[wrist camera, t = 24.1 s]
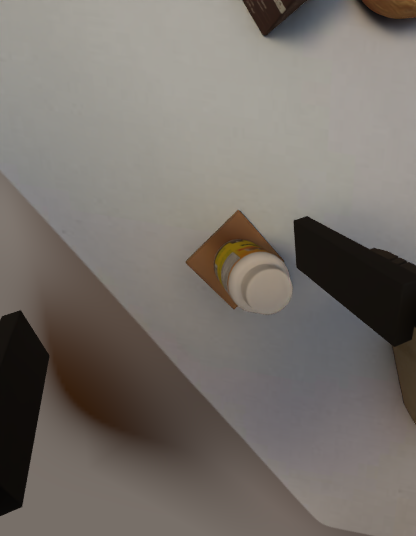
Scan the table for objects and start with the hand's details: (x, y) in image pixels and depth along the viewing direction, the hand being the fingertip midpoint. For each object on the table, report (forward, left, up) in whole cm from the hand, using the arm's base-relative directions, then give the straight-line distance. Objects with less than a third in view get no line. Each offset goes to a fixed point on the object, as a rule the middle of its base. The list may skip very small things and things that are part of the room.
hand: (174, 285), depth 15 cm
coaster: (+3, -8, -19) cm, 21 cm away
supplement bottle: (+3, -8, -19) cm, 21 cm away
